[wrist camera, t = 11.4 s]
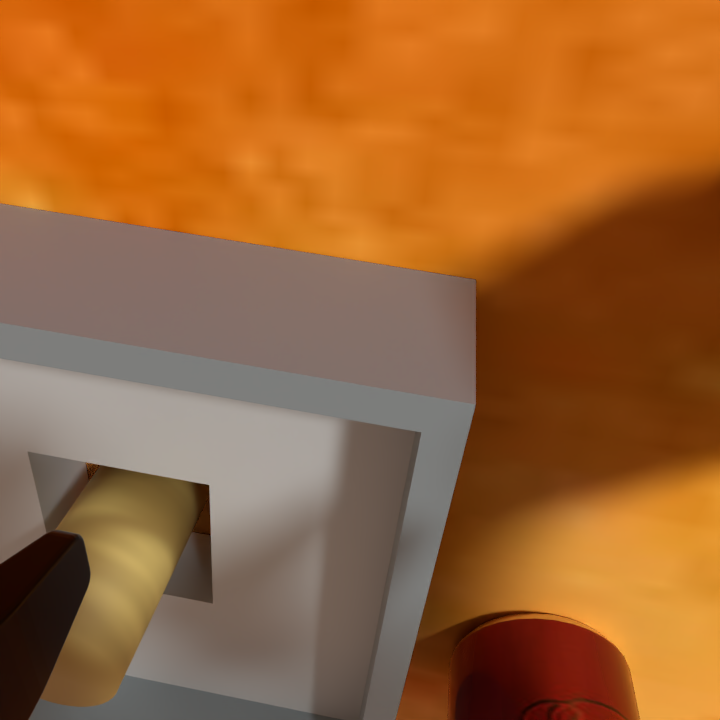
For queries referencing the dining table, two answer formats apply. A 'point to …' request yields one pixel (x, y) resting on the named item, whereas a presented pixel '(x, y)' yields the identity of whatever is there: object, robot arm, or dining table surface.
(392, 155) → the dining table surface
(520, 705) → the soda can
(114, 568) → the yellow peg
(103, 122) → the dining table surface
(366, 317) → the slate box
